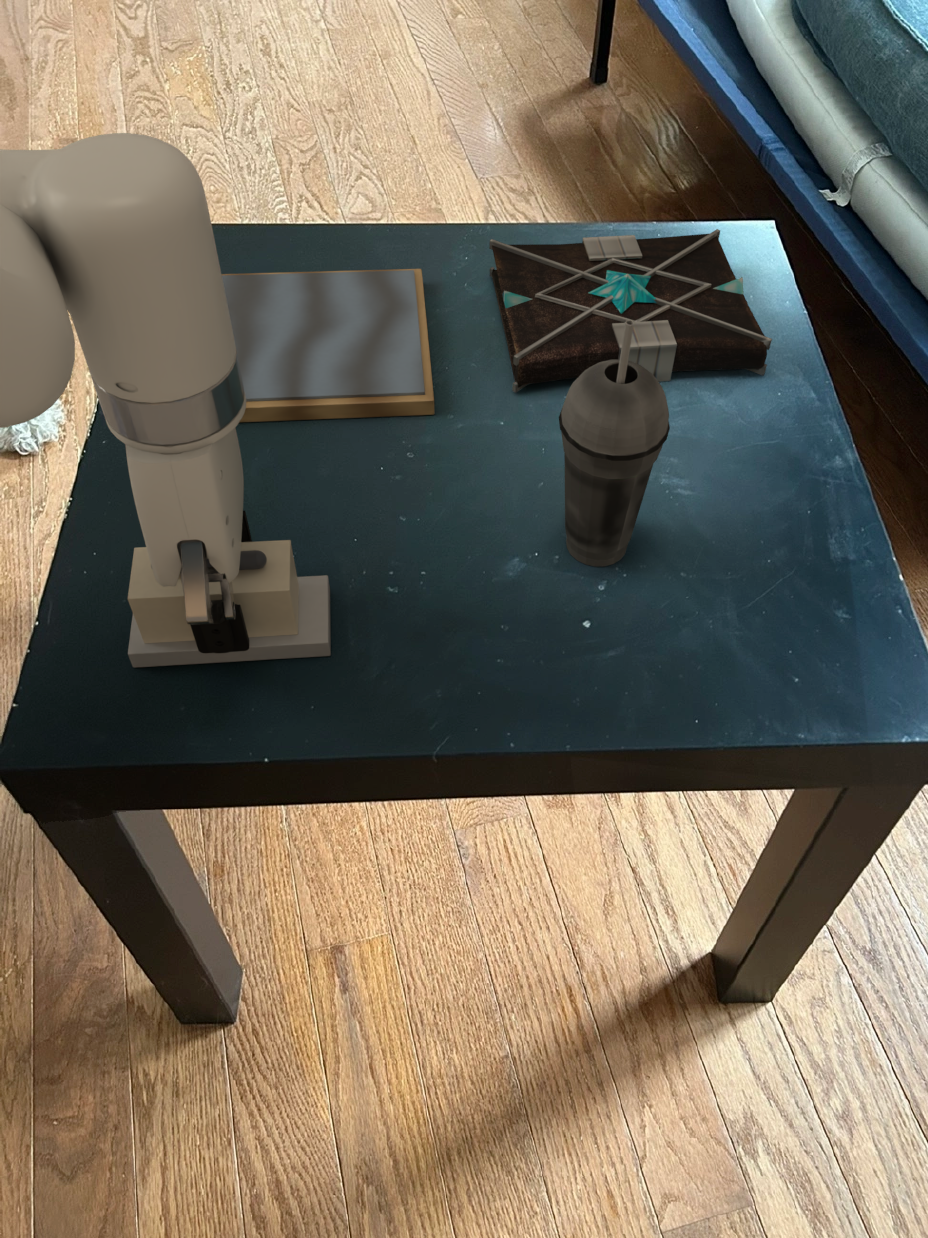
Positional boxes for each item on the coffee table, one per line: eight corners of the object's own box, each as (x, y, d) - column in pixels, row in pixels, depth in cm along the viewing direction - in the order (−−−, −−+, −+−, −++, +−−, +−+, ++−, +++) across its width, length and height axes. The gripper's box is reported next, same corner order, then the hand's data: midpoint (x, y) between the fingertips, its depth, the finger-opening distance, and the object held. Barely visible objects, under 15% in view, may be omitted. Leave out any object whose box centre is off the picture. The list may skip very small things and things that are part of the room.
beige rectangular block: (132, 668, 73) (104, 597, 67) (141, 599, 77) (114, 526, 71) (330, 656, 74) (319, 585, 68) (330, 589, 78) (319, 516, 72)
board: (181, 425, 87) (177, 407, 86) (196, 289, 98) (192, 271, 96) (434, 415, 89) (434, 397, 88) (422, 283, 100) (421, 265, 98)
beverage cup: (647, 513, 83) (692, 279, 67) (644, 585, 79) (691, 354, 63) (551, 504, 83) (573, 268, 67) (543, 575, 79) (564, 342, 63)
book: (512, 395, 91) (515, 344, 87) (484, 275, 101) (485, 224, 97) (765, 377, 93) (779, 327, 89) (714, 262, 103) (724, 212, 99)
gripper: (115, 290, 64) (179, 510, 78) (77, 504, 53) (159, 712, 68) (248, 286, 64) (287, 505, 79) (235, 497, 54) (282, 704, 68)
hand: (227, 599), depth 73 cm, fingers open, 7 cm apart
